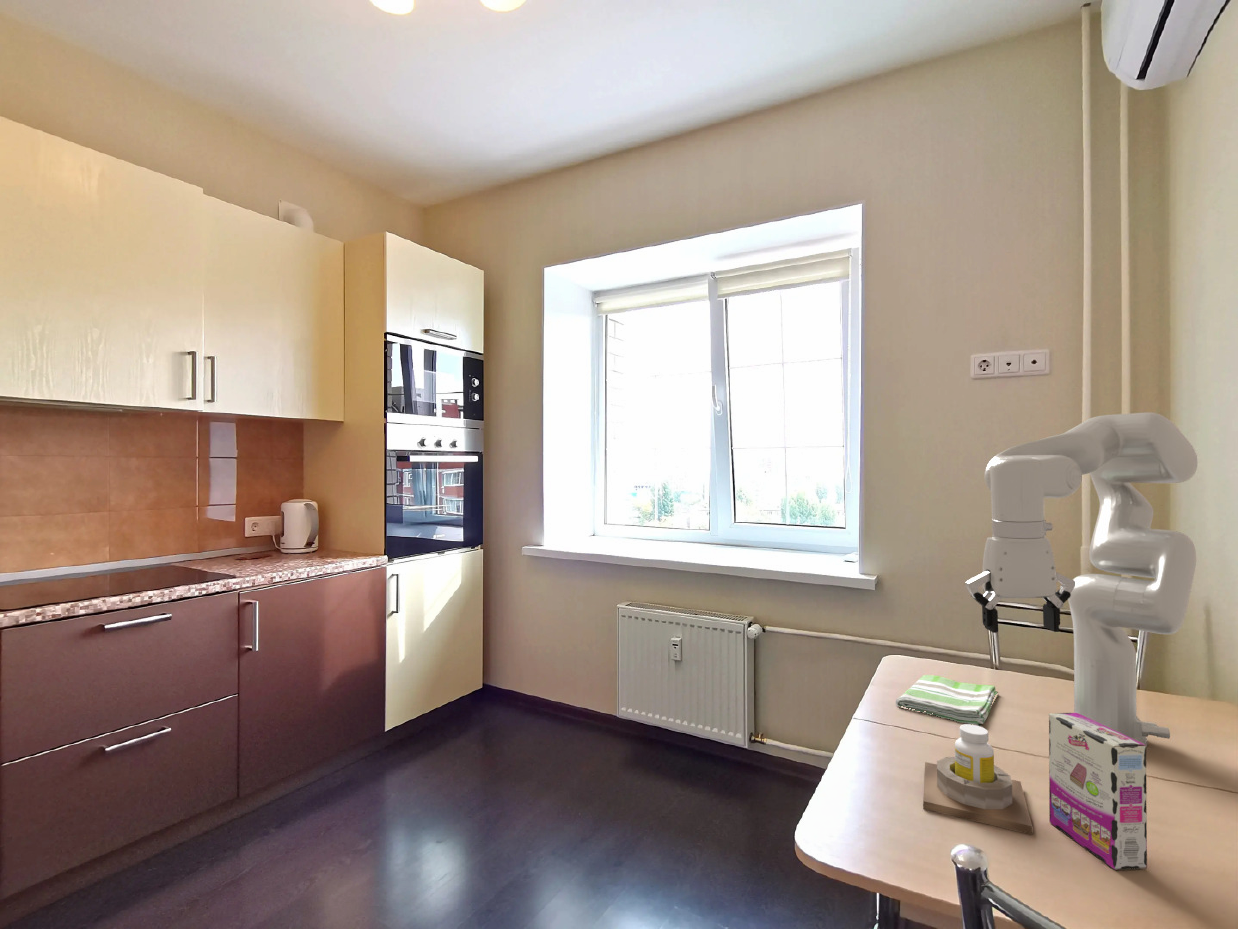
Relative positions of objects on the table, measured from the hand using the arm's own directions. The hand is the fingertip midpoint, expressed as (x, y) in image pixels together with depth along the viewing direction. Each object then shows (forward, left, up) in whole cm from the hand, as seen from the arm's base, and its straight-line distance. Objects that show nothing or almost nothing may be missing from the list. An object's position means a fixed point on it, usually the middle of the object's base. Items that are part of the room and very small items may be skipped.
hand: (1021, 630), depth 103 cm
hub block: (+8, +12, -25) cm, 29 cm away
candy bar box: (-7, +17, -25) cm, 31 cm away
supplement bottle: (+8, +11, -24) cm, 28 cm away
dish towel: (+11, -33, -26) cm, 43 cm away
